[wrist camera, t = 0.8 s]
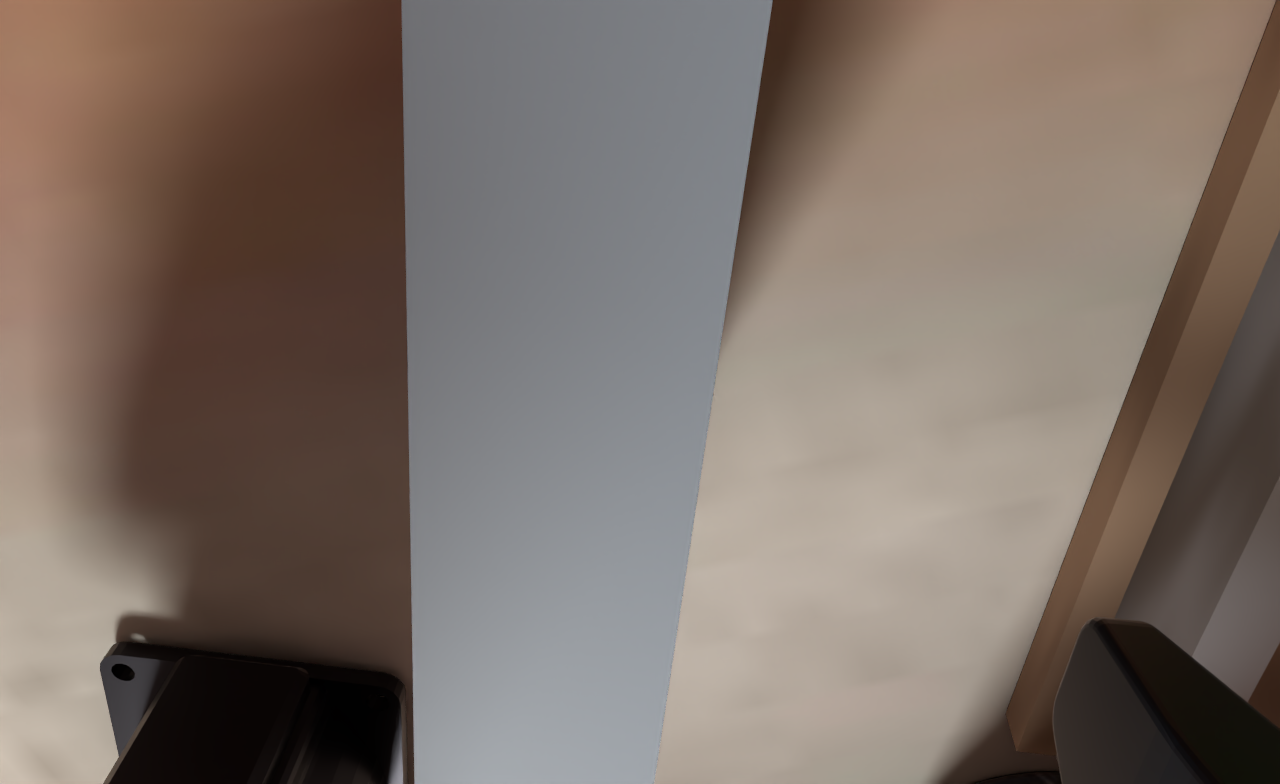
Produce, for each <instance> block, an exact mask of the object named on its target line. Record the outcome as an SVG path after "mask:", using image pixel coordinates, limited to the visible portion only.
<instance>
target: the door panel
mask: <svg viewBox="0 0 1280 784" xmlns="http://www.w3.org/2000/svg"><path fill="white" fill-rule="evenodd" d="M772 2H773V0H402V57H403V117H404V178H405V238H406V299H407V359H408V420H409V480H410V541H411V601H412V661H413V722H414V782H415V784H654V780H655V774H656V767H657V760H658V754H659V747H660V741H661V734H662V727H663V721H664V714H665V708H666V701H667V695H668V688H669V681H670V675H671V668H672V662H673V655H674V648H675V642H676V635H677V629H678V622H679V615H680V609H681V602H682V596H683V589H684V582H685V576H686V569H687V563H688V556H689V549H690V543H691V536H692V530H693V523H694V516H695V510H696V503H697V497H698V490H699V484H700V477H701V470H702V464H703V457H704V451H705V444H706V437H707V431H708V424H709V418H710V411H711V404H712V398H713V391H714V385H715V378H716V371H717V365H718V358H719V352H720V345H721V338H722V332H723V325H724V319H725V312H726V305H727V299H728V292H729V286H730V279H731V273H732V266H733V259H734V253H735V246H736V240H737V233H738V226H739V220H740V213H741V207H742V200H743V193H744V187H745V180H746V174H747V167H748V160H749V154H750V147H751V141H752V134H753V127H754V121H755V114H756V108H757V101H758V94H759V88H760V81H761V75H762V68H763V62H764V55H765V48H766V42H767V35H768V29H769V22H770V15H771V9H772Z"/></svg>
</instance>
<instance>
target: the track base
mask: <svg viewBox="0 0 1280 784" xmlns="http://www.w3.org/2000/svg"><path fill="white" fill-rule="evenodd" d="M1095 617H1106V618H1116V619H1126V620H1137V621H1143V622H1146V623H1149V624H1151V625H1153V626H1154V627H1155V628H1157V629H1158V630H1160V631H1161V632H1162V633H1163V634H1164V635H1166V636H1167V637H1168V638H1169V639H1171V640H1172V641H1173V642H1174V643H1175V644H1177V645H1178V646H1179V647H1180V648H1182V649H1183V650H1184V651H1185V652H1186V653H1188V654H1189V655H1190V656H1191V657H1193V658H1194V659H1195V660H1196V661H1198V662H1199V663H1200V664H1201V665H1202V666H1204V667H1205V668H1206V669H1207V670H1209V671H1210V672H1211V673H1212V674H1213V675H1215V676H1216V677H1217V678H1218V679H1220V680H1221V681H1222V682H1223V683H1224V684H1226V685H1227V686H1228V687H1229V688H1231V689H1232V690H1233V691H1234V692H1236V693H1237V694H1238V695H1239V696H1240V697H1242V698H1243V699H1244V700H1245V701H1247V702H1248V703H1249V704H1250V705H1251V706H1253V707H1254V708H1255V709H1256V710H1258V711H1259V712H1260V713H1261V714H1262V715H1264V716H1265V717H1266V718H1267V719H1269V720H1270V721H1271V722H1272V723H1274V724H1275V725H1276V726H1277V727H1278V728H1280V0H1277V2H1276V4H1275V7H1274V9H1273V12H1272V15H1271V17H1270V20H1269V23H1268V25H1267V28H1266V30H1265V33H1264V36H1263V38H1262V41H1261V44H1260V46H1259V49H1258V52H1257V54H1256V57H1255V59H1254V62H1253V65H1252V67H1251V70H1250V73H1249V75H1248V78H1247V80H1246V83H1245V86H1244V88H1243V91H1242V94H1241V96H1240V99H1239V101H1238V104H1237V107H1236V109H1235V112H1234V115H1233V117H1232V120H1231V123H1230V125H1229V128H1228V130H1227V133H1226V136H1225V138H1224V141H1223V144H1222V146H1221V149H1220V151H1219V154H1218V157H1217V159H1216V162H1215V165H1214V167H1213V170H1212V172H1211V175H1210V178H1209V180H1208V183H1207V186H1206V188H1205V191H1204V194H1203V196H1202V199H1201V201H1200V204H1199V207H1198V209H1197V212H1196V215H1195V217H1194V220H1193V222H1192V225H1191V228H1190V230H1189V233H1188V236H1187V238H1186V241H1185V243H1184V246H1183V249H1182V251H1181V254H1180V257H1179V259H1178V262H1177V265H1176V267H1175V270H1174V272H1173V275H1172V278H1171V280H1170V283H1169V286H1168V288H1167V291H1166V293H1165V296H1164V299H1163V301H1162V304H1161V307H1160V309H1159V312H1158V314H1157V317H1156V320H1155V322H1154V325H1153V328H1152V330H1151V333H1150V336H1149V338H1148V341H1147V343H1146V346H1145V349H1144V351H1143V354H1142V357H1141V359H1140V362H1139V364H1138V367H1137V370H1136V372H1135V375H1134V378H1133V380H1132V383H1131V385H1130V388H1129V391H1128V393H1127V396H1126V399H1125V401H1124V404H1123V407H1122V409H1121V412H1120V414H1119V417H1118V420H1117V422H1116V425H1115V428H1114V430H1113V433H1112V435H1111V438H1110V441H1109V443H1108V446H1107V449H1106V451H1105V454H1104V456H1103V459H1102V462H1101V464H1100V467H1099V470H1098V472H1097V475H1096V478H1095V480H1094V483H1093V485H1092V488H1091V491H1090V493H1089V496H1088V499H1087V501H1086V504H1085V506H1084V509H1083V512H1082V514H1081V517H1080V520H1079V522H1078V525H1077V527H1076V530H1075V533H1074V535H1073V538H1072V541H1071V543H1070V546H1069V549H1068V551H1067V554H1066V556H1065V559H1064V562H1063V564H1062V567H1061V570H1060V572H1059V575H1058V577H1057V580H1056V583H1055V585H1054V588H1053V591H1052V593H1051V596H1050V598H1049V601H1048V604H1047V606H1046V609H1045V612H1044V614H1043V617H1042V620H1041V622H1040V625H1039V627H1038V630H1037V633H1036V635H1035V638H1034V641H1033V643H1032V646H1031V648H1030V651H1029V654H1028V656H1027V659H1026V662H1025V664H1024V667H1023V669H1022V672H1021V675H1020V677H1019V680H1018V683H1017V685H1016V688H1015V691H1014V693H1013V696H1012V698H1011V701H1010V704H1009V706H1008V709H1007V712H1006V717H1007V720H1008V724H1009V727H1010V731H1011V734H1012V738H1013V741H1014V744H1015V748H1016V751H1018V752H1027V753H1035V754H1044V755H1052V756H1056V758H1057V762H1058V757H1057V752H1056V746H1055V740H1054V733H1053V707H1054V701H1055V698H1056V694H1057V692H1058V689H1059V686H1060V683H1061V681H1062V678H1063V675H1064V672H1065V670H1066V667H1067V664H1068V662H1069V659H1070V656H1071V653H1072V651H1073V648H1074V645H1075V643H1076V640H1077V637H1078V634H1079V632H1080V630H1081V628H1082V627H1083V625H1084V624H1085V623H1086V622H1087V621H1088V620H1090V619H1092V618H1095ZM1058 765H1059V763H1058Z"/></svg>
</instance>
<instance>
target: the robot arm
mask: <svg viewBox="0 0 1280 784" xmlns="http://www.w3.org/2000/svg"><path fill="white" fill-rule="evenodd" d="M127 665H128V666H127ZM100 672H101V676H102V681H103V686H104V690H105V695H106V699H107V704H108V708H109V713H110V717H111V722H112V726H113V731H114V736H115V740H116V745H117V749H118V754H119V758H118V760H117V761H116V763H115V765H114V766H113V768H112V770H111V771H110V773H109V775H108V776H107V778H106V780H105V782H104V783H103V784H408V770H407V724H406V690H405V687H404V685H403V683H402V682H401V681H400V680H399V679H398V678H396V677H395V676H393V675H391V674H387V673H384V672H377V671H368V670H360V669H351V668H343V667H335V666H326V665H318V664H309V663H301V662H293V661H284V660H276V659H268V658H259V657H251V656H242V655H234V654H226V653H217V652H209V651H200V650H192V649H184V648H175V647H167V646H158V645H150V644H142V643H133V642H119V643H117V644H114V645H113V646H112V647H111V648H110V650H109V651H108V653H107V654H106V656H105V657H104V659H103V660H102V662H101V663H100ZM376 694H379V695H382V696H384V697H381V696H377V695H376ZM1053 733H1054V740H1055V746H1056V752H1057V757H1058V763H1059V769H1060V775H1061V781H1062V784H1280V728H1278V727H1277V726H1276V725H1275V724H1274V723H1272V722H1271V721H1270V720H1269V719H1267V718H1266V717H1265V716H1264V715H1262V714H1261V713H1260V712H1259V711H1258V710H1256V709H1255V708H1254V707H1253V706H1251V705H1250V704H1249V703H1248V702H1247V701H1245V700H1244V699H1243V698H1242V697H1240V696H1239V695H1238V694H1237V693H1236V692H1234V691H1233V690H1232V689H1231V688H1229V687H1228V686H1227V685H1226V684H1224V683H1223V682H1222V681H1221V680H1220V679H1218V678H1217V677H1216V676H1215V675H1213V674H1212V673H1211V672H1210V671H1209V670H1207V669H1206V668H1205V667H1204V666H1202V665H1201V664H1200V663H1199V662H1198V661H1196V660H1195V659H1194V658H1193V657H1191V656H1190V655H1189V654H1188V653H1186V652H1185V651H1184V650H1183V649H1182V648H1180V647H1179V646H1178V645H1177V644H1175V643H1174V642H1173V641H1172V640H1171V639H1169V638H1168V637H1167V636H1166V635H1164V634H1163V633H1162V632H1161V631H1160V630H1158V629H1157V628H1155V627H1154V626H1153V625H1151V624H1149V623H1146V622H1143V621H1137V620H1126V619H1116V618H1106V617H1095V618H1092V619H1090V620H1088V621H1087V622H1086V623H1085V624H1084V625H1083V627H1082V628H1081V630H1080V632H1079V634H1078V637H1077V640H1076V643H1075V645H1074V648H1073V651H1072V653H1071V656H1070V659H1069V662H1068V664H1067V667H1066V670H1065V672H1064V675H1063V678H1062V681H1061V683H1060V686H1059V689H1058V692H1057V694H1056V698H1055V701H1054V707H1053Z"/></svg>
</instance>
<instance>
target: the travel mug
mask: <svg viewBox="0 0 1280 784" xmlns="http://www.w3.org/2000/svg"><path fill="white" fill-rule="evenodd" d="M976 784H1062V781H1061V775H1060V772H1039V773H1024V774H1017V775H1009V776H1004V777H999V778H995V779H990V780H986V781H982V782H979V783H976Z"/></svg>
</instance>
